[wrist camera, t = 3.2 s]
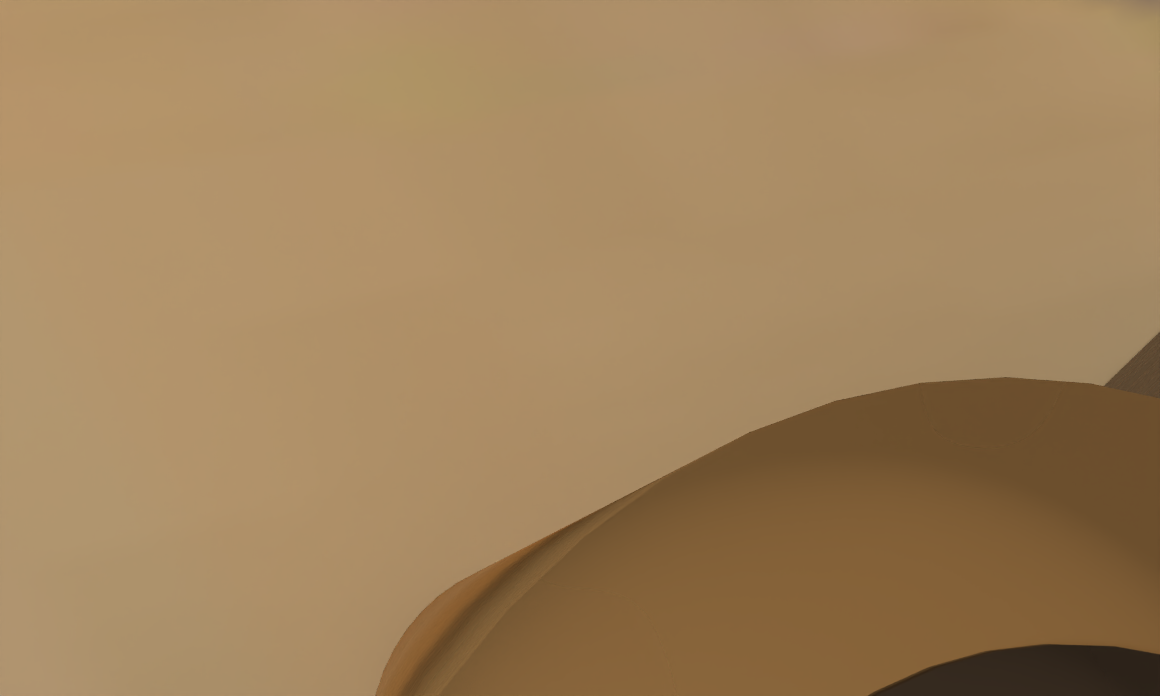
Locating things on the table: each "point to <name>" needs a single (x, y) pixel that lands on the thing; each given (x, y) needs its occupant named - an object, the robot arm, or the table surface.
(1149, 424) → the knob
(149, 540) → the table surface
